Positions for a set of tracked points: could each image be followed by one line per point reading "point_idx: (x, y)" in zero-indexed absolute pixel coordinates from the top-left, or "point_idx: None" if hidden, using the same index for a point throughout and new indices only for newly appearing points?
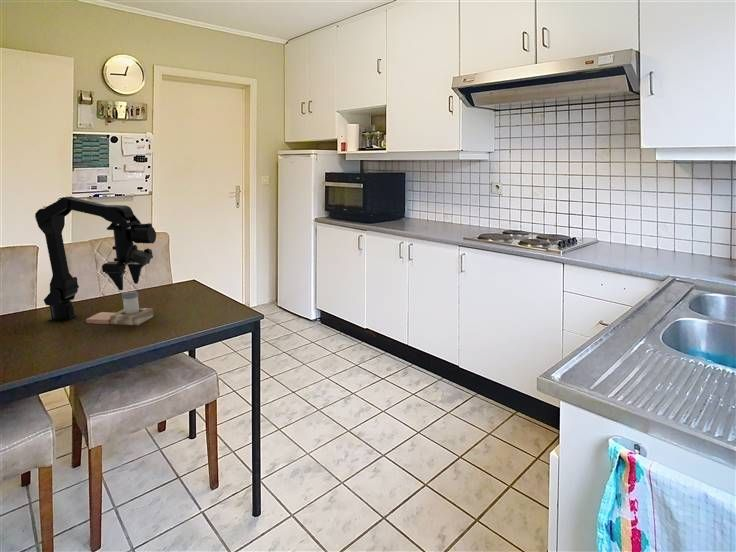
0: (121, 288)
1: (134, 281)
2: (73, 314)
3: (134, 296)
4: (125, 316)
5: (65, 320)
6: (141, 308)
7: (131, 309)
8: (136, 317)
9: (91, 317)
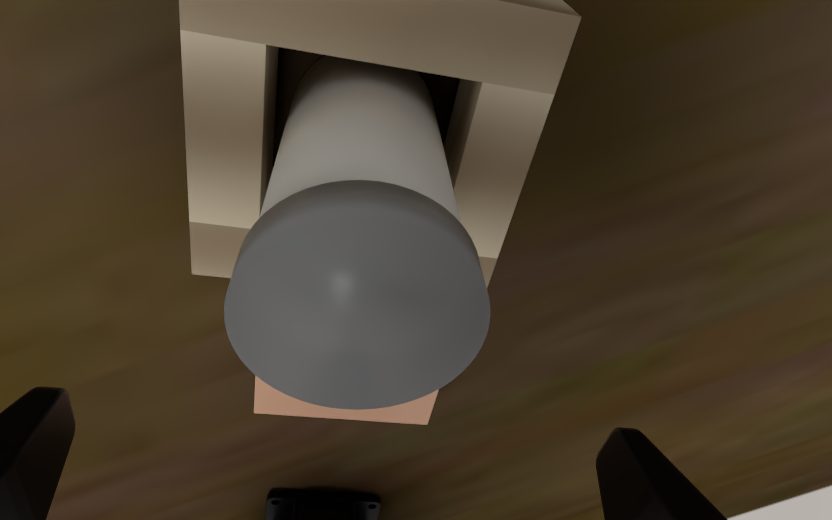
0: (663, 463)
1: (54, 471)
2: (310, 510)
3: (436, 212)
4: (527, 166)
5: (374, 499)
6: (203, 106)
7: (444, 159)
8: (574, 29)
9: (389, 413)
